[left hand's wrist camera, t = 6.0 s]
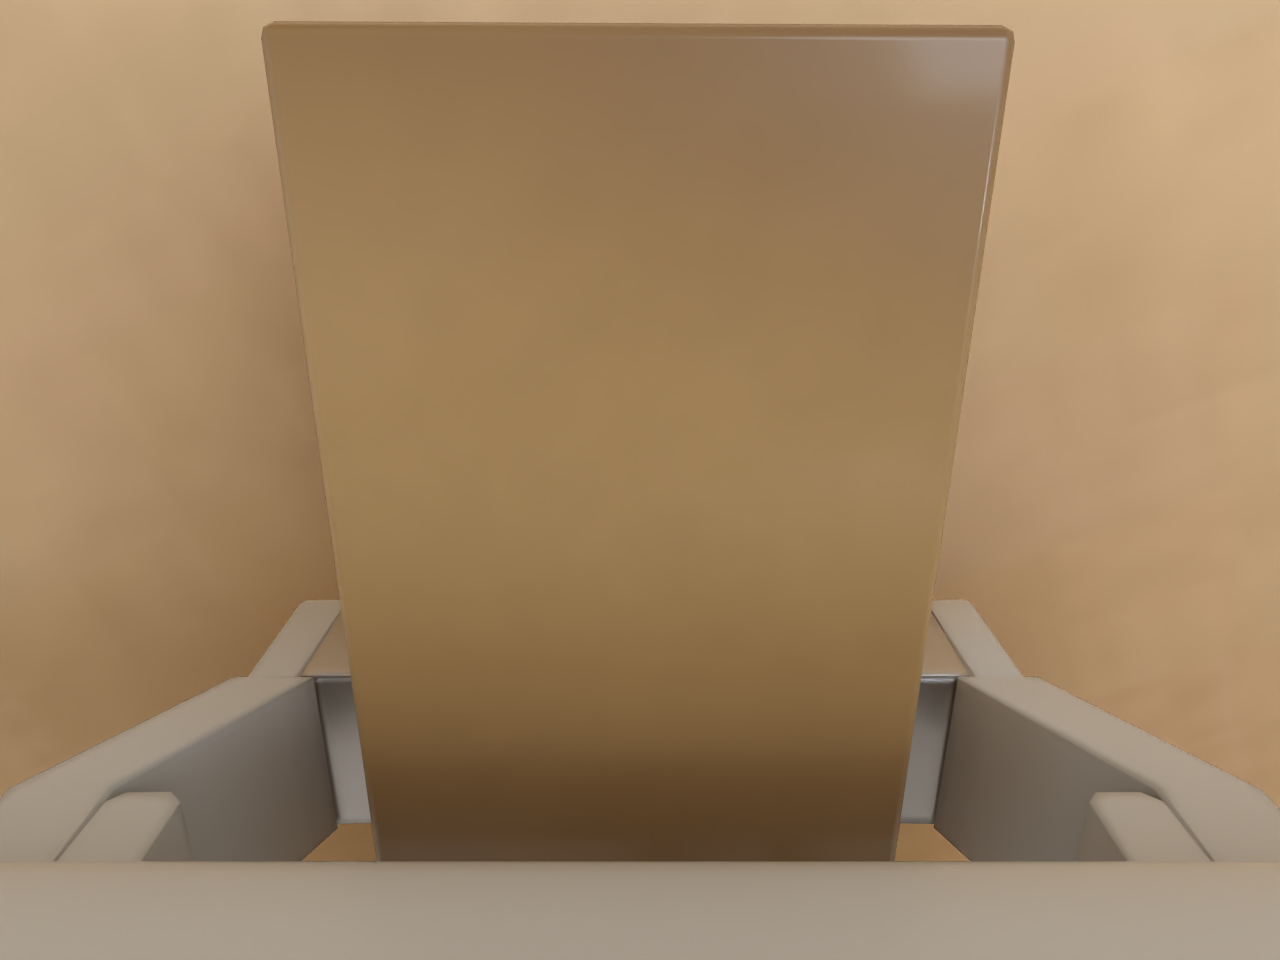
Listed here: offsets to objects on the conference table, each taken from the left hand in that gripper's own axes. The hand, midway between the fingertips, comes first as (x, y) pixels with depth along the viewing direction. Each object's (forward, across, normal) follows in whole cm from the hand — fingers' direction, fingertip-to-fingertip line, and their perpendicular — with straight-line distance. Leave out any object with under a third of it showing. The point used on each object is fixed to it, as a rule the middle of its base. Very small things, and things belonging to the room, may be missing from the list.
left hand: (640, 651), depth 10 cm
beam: (+3, 0, -19) cm, 19 cm away
